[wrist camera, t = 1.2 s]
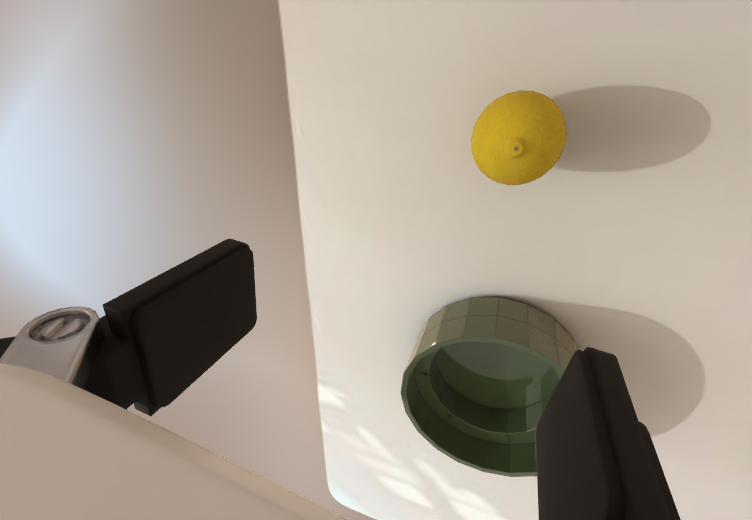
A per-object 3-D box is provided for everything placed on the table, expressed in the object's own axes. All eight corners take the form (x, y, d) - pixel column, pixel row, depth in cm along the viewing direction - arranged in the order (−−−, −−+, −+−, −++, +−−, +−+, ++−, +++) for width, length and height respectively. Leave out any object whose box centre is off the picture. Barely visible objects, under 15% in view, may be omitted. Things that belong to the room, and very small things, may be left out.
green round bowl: (608, 319, 29) (628, 374, 24) (552, 437, 36) (558, 500, 31) (430, 276, 33) (412, 314, 28) (411, 390, 40) (393, 438, 35)
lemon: (543, 177, 26) (550, 209, 20) (469, 161, 28) (452, 186, 21) (573, 97, 24) (593, 102, 17) (490, 83, 25) (478, 83, 18)
